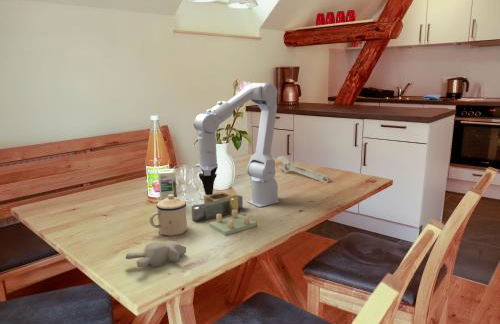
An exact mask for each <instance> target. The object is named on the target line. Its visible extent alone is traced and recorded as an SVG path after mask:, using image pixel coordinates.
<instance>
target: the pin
mask: <svg viewBox="0 0 500 324" xmlns="http://www.w3.org/2000/svg"><path fill="white" fill-rule="evenodd" d="M230 210H231V213H230V217H232V210H237V215H239V212H238V198H237V197H232V198H230Z"/></svg>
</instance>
